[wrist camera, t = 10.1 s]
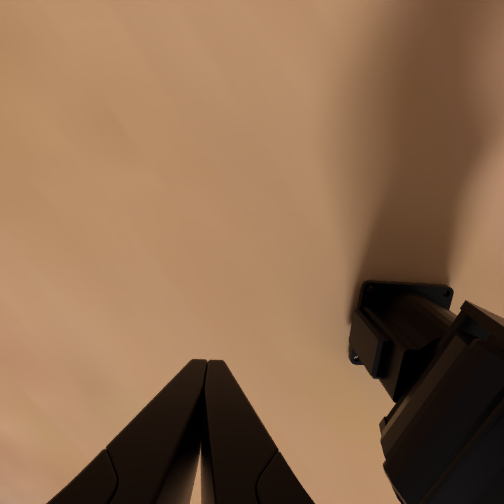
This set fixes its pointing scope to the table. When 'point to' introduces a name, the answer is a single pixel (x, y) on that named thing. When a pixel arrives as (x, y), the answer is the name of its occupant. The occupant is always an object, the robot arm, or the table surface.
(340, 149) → the table surface
